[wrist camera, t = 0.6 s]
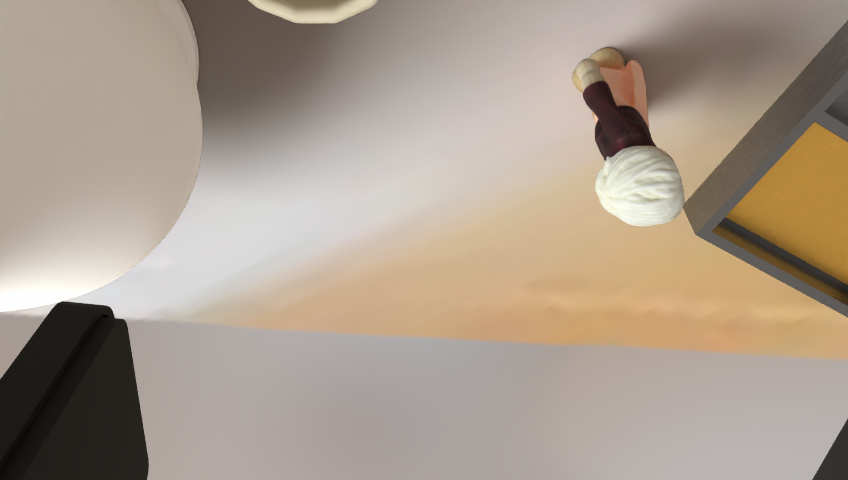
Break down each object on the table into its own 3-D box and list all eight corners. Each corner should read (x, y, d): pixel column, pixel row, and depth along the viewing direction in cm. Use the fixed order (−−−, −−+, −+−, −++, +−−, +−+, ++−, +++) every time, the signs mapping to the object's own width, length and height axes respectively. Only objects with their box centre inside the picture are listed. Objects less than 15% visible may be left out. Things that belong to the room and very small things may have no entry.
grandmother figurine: (676, 110, 40) (749, 242, 29) (615, 152, 41) (664, 291, 31) (592, 0, 37) (641, 103, 26) (530, 50, 38) (553, 165, 28)
